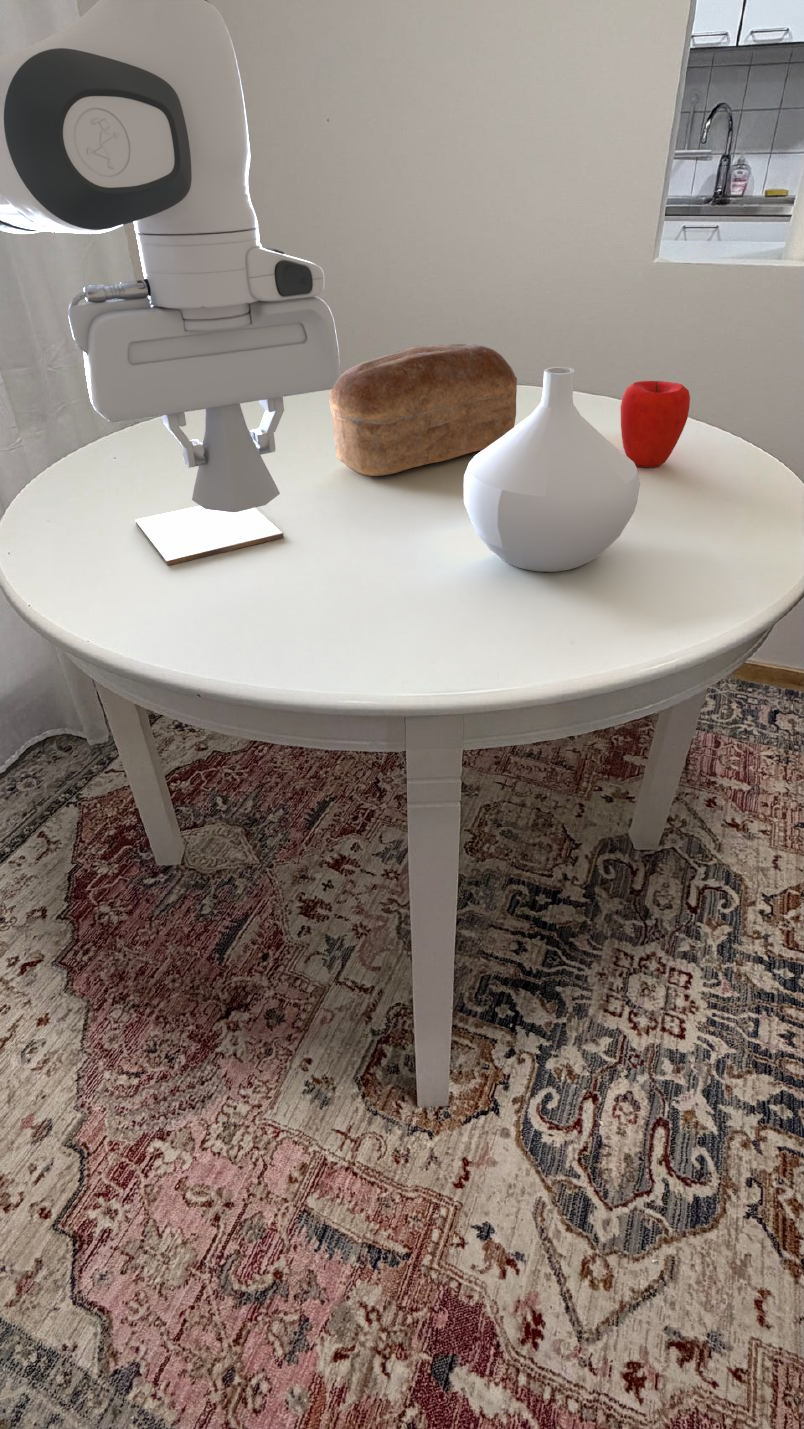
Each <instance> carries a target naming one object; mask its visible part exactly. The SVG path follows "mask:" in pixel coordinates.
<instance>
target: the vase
mask: <svg viewBox="0 0 804 1429" xmlns="http://www.w3.org/2000/svg"><path fill="white" fill-rule="evenodd" d="M575 373H576V370H575V369H574V368H571V367H567V366H551V367H547V368H545V369H544V370H543V383H542V394H541V399H540V402H539V404H538V405H537V406H536V408H535V409H534V410H533V411H532V413H531V414H529V415H527V417H525V418H524V419H523V420H521V421H520V422H518V424H515V425H514V428H513V429H511V430H510V431H509V432H507V433H506V434H505V435H503V436H502V437H501V438H499V439H498V440H496V441H495V442H494V443H492V444H491V445H489V446H488V447H487V448H485V449H484V450H480V452H478V453H477V454H475V455H474V456H473V457H472V458H471V460H470V461H469V462H468V464H467V467H466V469H465V472H464V474H463V504H464V507H465V510H466V512H467V515H468V517H469V520H470V522H471V524H472V527H473V529H474V531H475V532H476V534H477V536H478V537H479V538H480V539H481V541H483V543H484V544H485V546H486V547H487V548H488V550H489V551H491V552H492V553H493V554H495V555H496V556H498V557H499V558H500V559H502V560H503V561H504V562H506V563H507V564H510V565H511V566H514V567H516V568H518V569H519V568H520V569H524V570H527V571H533V572H543V573H545V572H546V573H548V572H549V573H555V572H565V571H569V570H573V569H577V568H579V567H581V566H583V565H585V564H587V563H589V562H591V561H593V560H595V559H596V558H598V557H599V556H600V555H602V554H603V553H604V552H605V551H606V550H607V549H608V548H609V547H610V546H611V545H613V543H614V542H615V541H617V540H618V539H619V538H620V536H621V534H622V533H623V532H624V529H626V526H627V525H628V523H629V521H630V520H631V518H632V516H633V515H634V513H635V511H636V507H637V503H638V500H639V495H640V490H641V489H640V488H641V480H640V475H639V471H638V468H637V466H636V465H635V464H634V462H633V461H632V460H631V459H629V458H628V457H627V456H626V454H625V452H623V451H621V450H620V449H619V448H618V447H617V446H615V444H613V443H612V442H610V441H609V440H608V439H607V438H606V437H605V436H604V435H602V433H601V432H600V431H598V430H597V428H595V427H594V426H593V425H592V424H591V423H590V422H589V421H588V420H587V419H586V418H585V417H584V416H582V414H581V413H580V412H579V410H578V409H577V407H576V406H575V404H574V398H573V395H574V384H575Z"/></svg>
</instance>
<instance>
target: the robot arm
mask: <svg viewBox="0 0 804 1429" xmlns="http://www.w3.org/2000/svg"><path fill="white" fill-rule="evenodd" d="M238 65H239V64H238V60H237V56H236V52H235V49H234V45H233V40H232V38H231V35H230V32H229V29H228V27H227V25H226V23H225V19H224V18H223V16H222V14H221V12H220V11H219V10H218V8H217V7H216V6H215V5H213V3H211V2H210V1H209V0H97V2H96V3H95V4H94V5H93V6H92V7H91V8H90V9H89V10H87V11H86V12H85V13H84V14H83V15H81V16H80V17H79V18H77V19H76V20H74V21H73V22H72V23H70V24H69V25H66V27H64V28H62V29H61V30H60V31H58V32H56V33H54V34H51V35H50V36H48V37H46V38H44V39H42V40H40V41H39V40H38V41H37V43H35V44H32V45H30V46H28V47H25V48H22V49H17V50H14V51H10V52H9V53H7V54H0V231H2V232H6V233H9V234H10V233H11V234H17V235H26V234H27V235H28V234H36V233H43V232H51V233H54V232H55V233H62V234H63V233H64V234H85V235H86V234H87V235H88V234H89V235H91V234H102V233H106V232H110V231H113V230H115V229H118V228H120V227H122V226H124V225H127V224H131V223H133V225H134V231H135V236H136V240H137V245H138V250H139V251H138V252H139V257H140V262H141V267H142V273H143V278H144V279H142V280H141V279H138V280H131V281H130V280H129V281H121V282H118V283H113V284H101V283H95V284H90V285H86V286H84V287H83V291H81V292H79V293H78V294H76V295H75V296H74V297H73V298H72V299H71V301H70V303H69V305H68V311H67V312H68V314H67V318H68V321H69V324H70V325H69V326H70V330H71V334H72V338H73V341H74V343H75V344H76V346H77V347H78V348H79V349H80V350H81V351H82V352H83V360H84V368H85V369H84V370H85V376H86V377H85V378H86V382H87V389H88V394H89V400H90V403H91V406H92V407H93V409H94V410H95V412H96V413H98V414H99V416H101V417H102V418H104V419H105V420H106V421H108V422H110V423H112V424H116V423H122V422H123V423H124V422H129V421H135V420H136V421H137V420H142V419H149V418H155V417H156V418H157V417H161V420H162V421H161V422H162V424H163V425H164V426H165V427H166V428H167V430H168V431H169V432H170V434H171V435H172V436H173V437H174V439H175V440H176V441H177V442H178V443H179V444H180V449H181V454H182V459H183V462H184V465H185V466H186V467H188V468H189V469H191V468H195V467H199V466H201V465H206V458H205V457H204V453H205V451H204V445H203V442H200V440H199V439H197V438H196V439H191V440H190V439H189V438H188V436H187V435H186V433H185V432H184V431H183V430H182V429H181V427H186V426H187V419H186V413H187V412H188V413H189V412H194V411H201V410H206V409H208V408H214V407H221V406H227V405H234V404H240V405H241V404H246V403H252V402H259V406H260V407H261V408H262V409H264V413H263V415H262V419H261V422H260V424H259V427H258V428H255V429H251V430H250V434H251V436H252V439H253V441H254V443H255V445H256V447H257V449H258V451H259V453H260V455H266V454H267V455H268V454H272V453H275V452H276V449H277V448H276V441H275V433H276V431H277V428H278V426H279V424H280V421H281V419H282V416H283V414H284V412H285V407H284V405H285V404H284V398H285V397H291V396H298V395H305V394H310V393H316V392H323V391H329V390H330V389H332V388H333V387H334V386H335V384H336V382H337V380H338V378H339V376H340V375H341V361H340V360H341V359H340V349H339V343H338V336H337V331H336V324H335V320H334V316H333V313H332V310H331V309H330V306H329V305H328V304H327V303H326V301H324V300H323V299H321V297H318V296H320V295H322V294H323V292H324V290H325V273H324V270H323V268H322V267H321V266H320V265H318V264H317V263H314V262H311V261H308V260H305V259H302V258H298V257H295V256H291V255H288V254H285V252H284V251H282V250H279V249H276V248H270V247H265V248H264V247H263V245H262V244H261V242H260V241H261V240H260V231H259V230H260V229H259V223H258V218H257V215H256V212H255V209H254V206H253V203H252V201H251V195H250V190H249V170H250V164H251V148H250V147H251V146H250V140H249V139H250V138H249V129H248V121H247V112H246V106H245V105H246V104H245V99H244V92H243V86H242V80H241V74H240V70H239V66H238ZM84 299H85V300H86V302H81V301H83V300H84Z"/></svg>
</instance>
